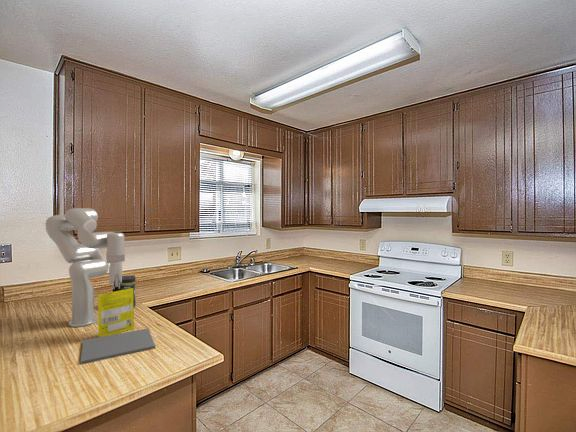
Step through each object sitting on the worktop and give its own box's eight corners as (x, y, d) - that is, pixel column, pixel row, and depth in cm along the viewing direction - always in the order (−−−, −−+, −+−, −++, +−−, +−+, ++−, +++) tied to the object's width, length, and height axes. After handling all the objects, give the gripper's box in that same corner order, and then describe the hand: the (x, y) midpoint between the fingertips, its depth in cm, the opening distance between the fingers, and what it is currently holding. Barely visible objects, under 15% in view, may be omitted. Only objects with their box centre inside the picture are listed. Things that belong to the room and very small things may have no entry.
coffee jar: (116, 309, 178) (116, 277, 178) (119, 305, 186) (118, 274, 185) (135, 307, 182) (135, 276, 181) (136, 304, 189) (136, 273, 189)
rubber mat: (83, 342, 135) (83, 340, 135) (148, 330, 148) (148, 328, 148) (80, 364, 116) (80, 361, 116) (155, 348, 130) (155, 345, 129)
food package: (133, 328, 150) (132, 287, 150) (134, 329, 150) (133, 288, 149) (98, 338, 139) (97, 294, 138) (99, 339, 138) (98, 295, 137)
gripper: (106, 257, 151) (107, 294, 151) (107, 261, 138) (107, 302, 138) (123, 256, 155) (124, 292, 155) (126, 260, 142) (126, 300, 142)
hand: (116, 297), depth 147 cm, fingers closed
